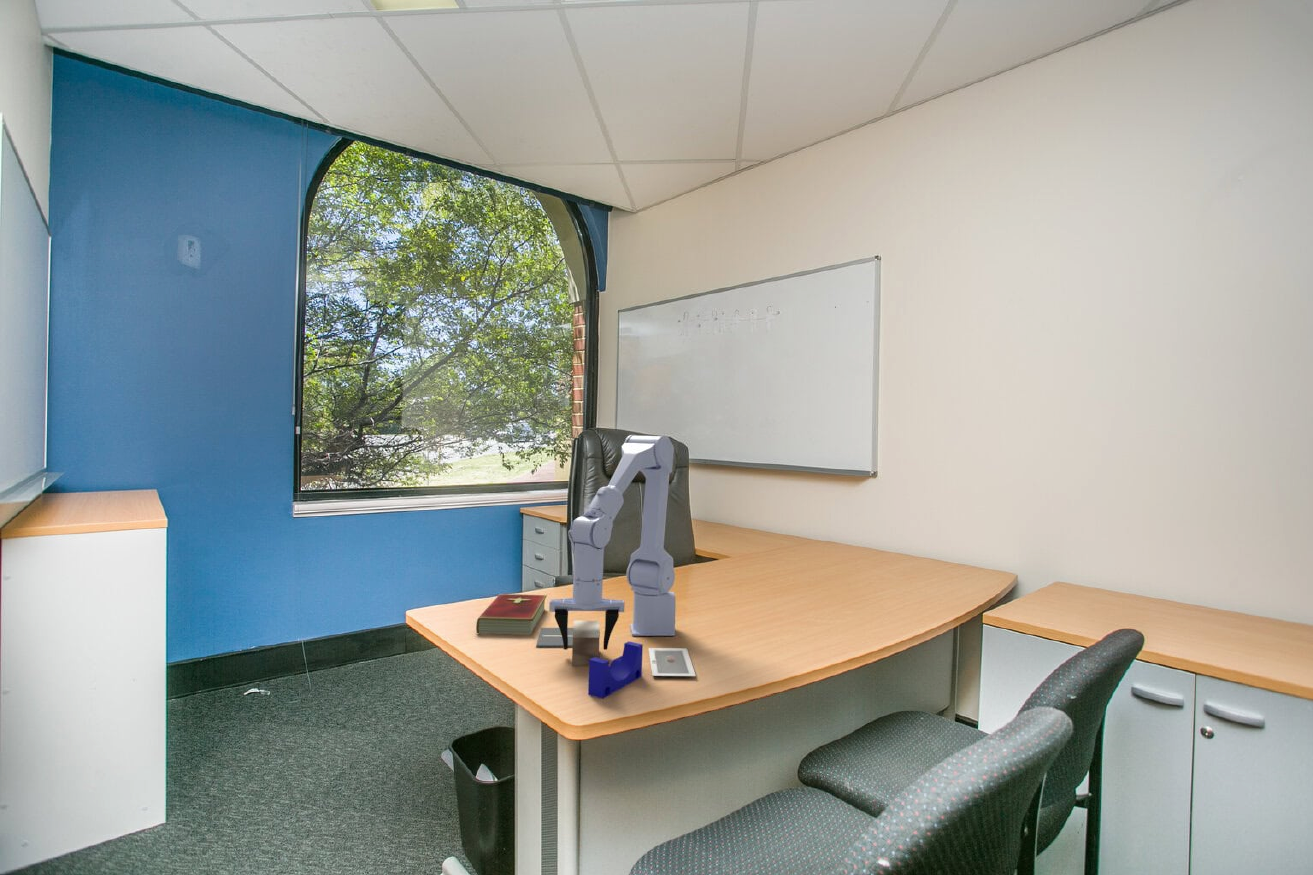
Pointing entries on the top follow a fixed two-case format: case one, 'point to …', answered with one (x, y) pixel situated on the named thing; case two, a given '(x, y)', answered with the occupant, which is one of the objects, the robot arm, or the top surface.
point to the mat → (553, 638)
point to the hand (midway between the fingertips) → (585, 647)
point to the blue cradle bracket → (615, 671)
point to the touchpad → (670, 662)
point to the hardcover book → (511, 614)
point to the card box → (585, 642)
